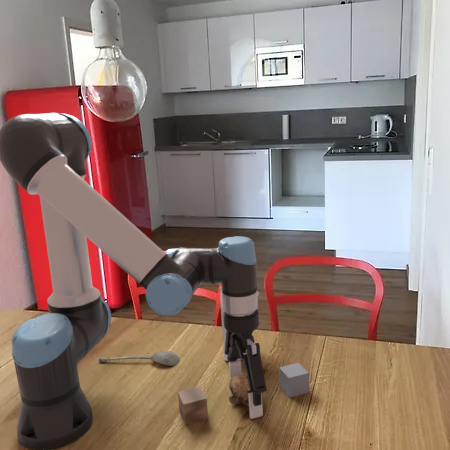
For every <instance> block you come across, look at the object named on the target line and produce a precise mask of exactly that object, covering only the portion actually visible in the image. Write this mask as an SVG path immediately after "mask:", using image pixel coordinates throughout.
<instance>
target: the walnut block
mask: <svg viewBox="0 0 450 450" xmlns="http://www.w3.org/2000/svg"><path fill="white" fill-rule="evenodd" d="M177 397H178V407H179V414H180V416H181V418H182V421H183V423H184V425H185V426H189V425H191V424H195V423H199V422H202V421H207V420H209V411H208V410H209V409H208V399H207V397H206V395H205V393H204V391H203V389H202V387H201V386H196V387H192V388H188V389H183V390H180V391H177Z"/></svg>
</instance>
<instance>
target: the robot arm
mask: <svg viewBox="0 0 450 450" xmlns="http://www.w3.org/2000/svg"><path fill="white" fill-rule="evenodd" d="M91 151H92V137H91V135H90V132H89V129H88V128H87V127H86V126H85V124H84V123H83V122H82V121H81V120H79V118H77V117H75V116H74V115H70V114H67V113H60V112H53V111H52V112H49V113H48V112H47V113H46V112H45V113H24V114H18V115H16V116H13V117H12V118H10V119H9V118H8V120H7V121H6V122H5V123H4V124H3V125H2V126H1V128H0V163H1V165H2V166H3V169H5V170H4V171H6V172H7V174H8V175H9V176H10V177H11V178H12V179H13V180H14V182H15V183H17V184H18V185H19V186H20V187H21V188H23V190H24V191H25V192H27V193H28V194H29V195H33V196H34V195H39V201H40V207H41V215H42V222H43V229H44V237H45V242H46V243H45V244H46V250H47V257H48V258H47V259H48V264H49V271H50V280H51V285H52V293H51V294H50V296H48V297H47V300H46V301H47V308H48V309H47V310H48V313H43V314H41V315H37V316H36V317H35V318H30V319H28V320H26V321H24V322H23V323H22V324H20V325H19V326H18V327H17V329H15V331H14V332H13V335H12V338H11V348H12V349H11V355H12V359H13V361H14V362H13V363H14V367H15V373H16V379H17V382H18V390H19V394H20V399H21V400H20V401H21V404H20V408H19V409H20V410H19V414H18V419H17V425H16V432H17V437H18V441H19V443H20V445H22V446H23V447H24V448H26V449H29V450H56V449H58V448H59V449H60V448H63V447H65V446H67V445H70V444H72V443H74V442H75V441H77V440H78V439H80V438H82V437H83V436H84V435H86V434H87V432H88V431H89V430H90V428H91V426H92V425H93V424H94V423H93V422H94V415H93V408H92V405H91V403H90V401H89V400H88V398H87V396H86V395H85V393H84V391H83V389H82V387H81V384H80V378H79V369H78V365H79V363H80V362H81V361H82V360H83V359H84V358H85V357H86V356H87V355H88V354H89V353H90V352H91V351H92V350H93V349H94V348H95V347H96V346H97V345H98V344H100V343H101V341H102V340H103V339H104V338H105V336H106V334H107V333H108V331H109V329H110V327H111V323H112V313H111V310H110V306H109V305H108V303H107V302H106V301H104V299H103V297H102V295H101V292H100V290H99V289H98V288H96V287H94V285H93V281H92V280H93V279H92V272H91V264H90V257H89V255H90V254H89V248H88V246H89V245H88V240H89V241H90V242H91V243H93V244H94V245H95V246H96V247H97V248H98V249H99V250H101V252H103V253H104V254H105V255H106V256H107V257H108V258H109V259H111V260H112V261H113V262H114V263H115V264H117V266H119V267H120V268H121V269H122V270H123V271H124V272H125V273H126V274H128V275H129V276H130V277H131V278H133V280H135V282H137V283H138V285H140V286H141V287H142V288H143V289H144V290H145V298H146V299H145V300H146V302H147V303H148V306H149V308H150V309H151V310H152V311H153V312H155V313H156V314H159V315H162V316H173V315H177V314H178V313H180V312H181V311H182V310H183V309H184V308H185V307H186V306H187V305H188V304H190V302H191V299H192V297H193V295H195V292H196V291H197V290H198V288H199V287H200V286H201V285H217V284H218V285H220V286H221V287H222V291H221V292H222V308H223V310H224V312H223V319H224V327H225V329H226V330H227V331H226V342H225V354H226V355H228V356H227V359H228V373H229V381H230V380H231V379H232V378H233V377H234V376H235V375H243V374H242V361H243V366H244V370H245V374H246V375H245V376H247V379H248V383H249V387H250V389H248V391H247V393H248V396H249V406H248V409H249V410H248V411H249V418H250V419H251V420H253V419H256V418H260V417H263V416H264V412H263V411H264V410H263V409H264V408H263V393H265V392H267V385H266V379H265V375H264V369H263V362H262V358H261V346H260V343H259V342H256V343H255V338H254V335H253V332H254V331H256V330H257V329H258V328H259V325H260V315H259V314H260V313H259V309H258V308H259V301H258V297H259V295H260V292H259V291H258V274H257V270H258V269H257V262H258V261H257V258H256V245H255V242H254V241H253V239H251V238H250V237H248V236H241V235H239V236H235V235H234V236H229V237H228V236H227V237H224V238H222V239H221V240H219V241H218V247H214V248H213V247H211V248H209V247H207V248H206V247H204V248H203V247H202V248H201V247H198V248H197V247H183V246H181V247H177V248H168V249H167V250H165V251H164V250H163V249H162V248H161V247H160V246H158V245H157V244H156V243H155V242H153V240H152V239H150V238H149V237H148V236H147V235H146V234H145V233H144V232H143V231H141V230H140V229H139V228H138V227H137V226H136V225H135V224H134V223H133V222H131V221H130V220H129V219H128V218H127V217H126V216H125V215H124V214H123V213H122V212H120V211H119V209H117V208H116V207H115V206H114V205H113V204H112V203H110V201H109V200H107V199H106V198H105V197H104V196H103V195H102V194H100V193H99V192H98V191H97V190H96V189H94V187H93V186H92V185H90V184H89V183H88V181H86V180H85V178H86V177H87V172H86V161H87V159H88V158H89V156H90V154H91ZM229 348H230V349H229ZM243 353H247V354H245V355H244V354H243ZM237 359H242V360H237Z"/></svg>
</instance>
